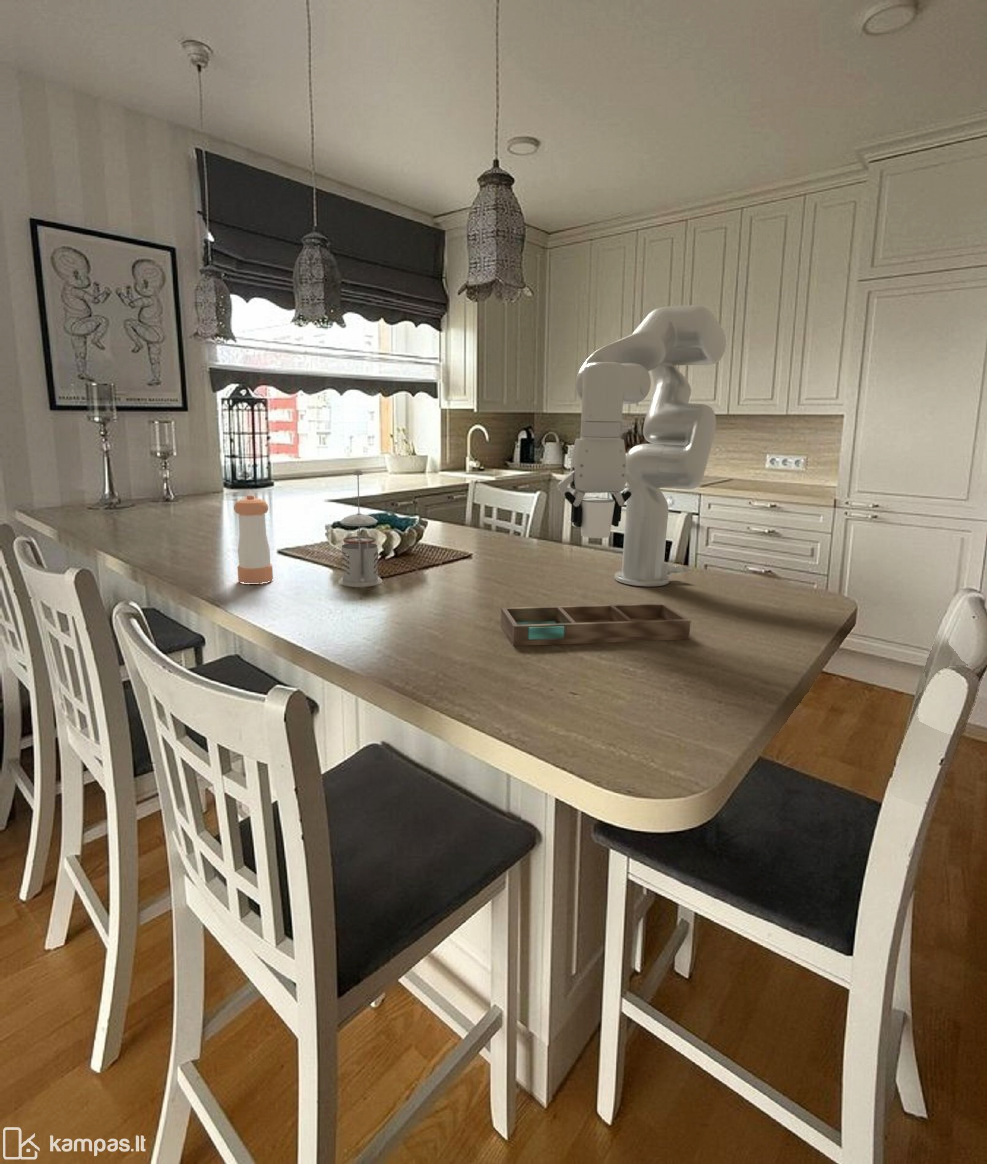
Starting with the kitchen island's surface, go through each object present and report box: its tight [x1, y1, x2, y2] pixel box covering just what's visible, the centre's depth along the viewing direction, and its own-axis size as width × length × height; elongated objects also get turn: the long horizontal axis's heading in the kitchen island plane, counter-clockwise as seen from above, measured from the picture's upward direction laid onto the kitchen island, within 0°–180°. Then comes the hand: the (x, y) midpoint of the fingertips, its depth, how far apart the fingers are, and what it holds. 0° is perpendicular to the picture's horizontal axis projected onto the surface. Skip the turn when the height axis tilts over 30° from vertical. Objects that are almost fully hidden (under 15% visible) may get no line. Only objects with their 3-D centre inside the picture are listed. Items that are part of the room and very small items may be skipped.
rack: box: [500, 602, 691, 647], centre depth 119 cm, size 31×12×3 cm, turn 100°
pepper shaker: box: [233, 494, 274, 583], centre depth 147 cm, size 7×7×19 cm
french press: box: [338, 469, 383, 588], centre depth 148 cm, size 10×12×25 cm
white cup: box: [580, 497, 615, 539], centre depth 130 cm, size 7×7×7 cm
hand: (595, 525), depth 130 cm, fingers closed on white cup, 6 cm apart
